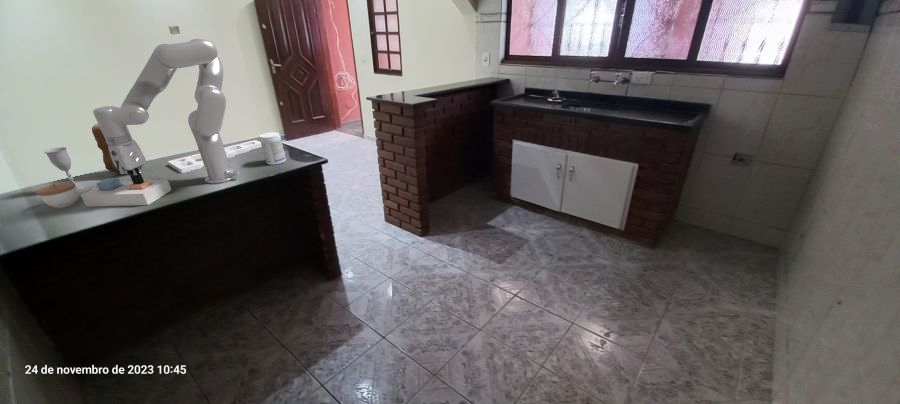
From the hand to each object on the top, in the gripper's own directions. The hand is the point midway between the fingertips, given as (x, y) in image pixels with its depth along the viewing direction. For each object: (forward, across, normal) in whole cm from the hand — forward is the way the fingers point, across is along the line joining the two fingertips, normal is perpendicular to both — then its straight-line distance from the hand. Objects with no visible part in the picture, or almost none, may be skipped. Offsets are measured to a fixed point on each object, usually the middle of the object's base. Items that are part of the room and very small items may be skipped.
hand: (139, 183), depth 144 cm
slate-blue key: (+2, 0, +12) cm, 12 cm away
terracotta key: (+3, 0, 0) cm, 3 cm away
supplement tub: (+7, +40, -38) cm, 56 cm away
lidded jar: (+7, -5, +28) cm, 29 cm away
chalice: (+7, +11, +38) cm, 40 cm away
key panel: (+7, 0, +6) cm, 9 cm away
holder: (+8, +50, -5) cm, 51 cm away
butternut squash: (+7, +29, +29) cm, 42 cm away
